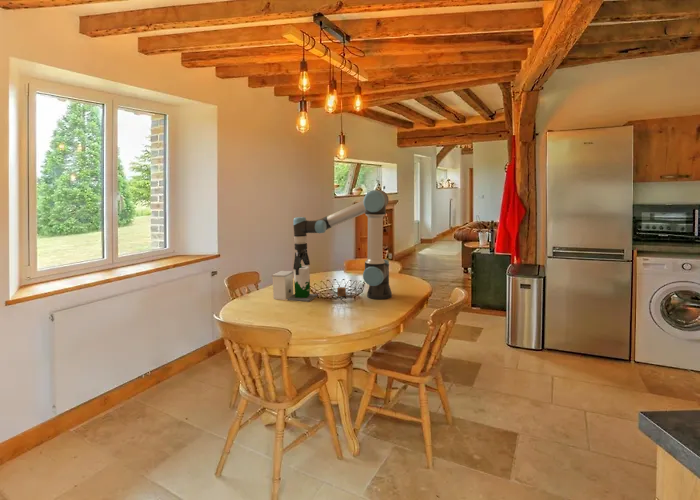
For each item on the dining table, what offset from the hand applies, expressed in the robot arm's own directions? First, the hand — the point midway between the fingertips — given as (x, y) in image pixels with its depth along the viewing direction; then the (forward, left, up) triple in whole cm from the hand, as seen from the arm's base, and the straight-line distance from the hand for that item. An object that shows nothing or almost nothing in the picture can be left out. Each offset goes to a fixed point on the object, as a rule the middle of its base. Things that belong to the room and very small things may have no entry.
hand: (302, 277), depth 266 cm
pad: (0, 0, -13) cm, 13 cm away
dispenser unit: (+13, 0, -13) cm, 18 cm away
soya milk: (0, 0, -12) cm, 12 cm away
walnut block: (-22, -10, -13) cm, 27 cm away
